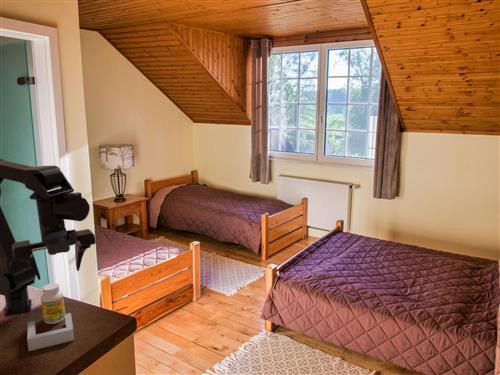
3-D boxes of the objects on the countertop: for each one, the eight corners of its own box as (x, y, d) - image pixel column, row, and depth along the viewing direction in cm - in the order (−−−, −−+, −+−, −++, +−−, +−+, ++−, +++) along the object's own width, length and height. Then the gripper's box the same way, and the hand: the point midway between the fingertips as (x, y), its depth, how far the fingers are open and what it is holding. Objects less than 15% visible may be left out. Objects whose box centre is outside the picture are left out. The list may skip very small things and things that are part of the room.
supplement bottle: (63, 311, 116) (59, 280, 114) (67, 320, 112) (63, 287, 110) (42, 317, 113) (38, 285, 111) (45, 326, 109) (41, 293, 107)
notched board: (29, 332, 106) (28, 322, 106) (72, 323, 111) (70, 312, 110) (28, 351, 99) (27, 339, 98) (74, 340, 103) (73, 329, 102)
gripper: (11, 232, 93) (21, 297, 96) (97, 217, 103) (104, 276, 106) (7, 220, 102) (17, 279, 106) (87, 208, 112) (93, 262, 115)
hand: (59, 274), depth 108 cm, fingers open, 9 cm apart
